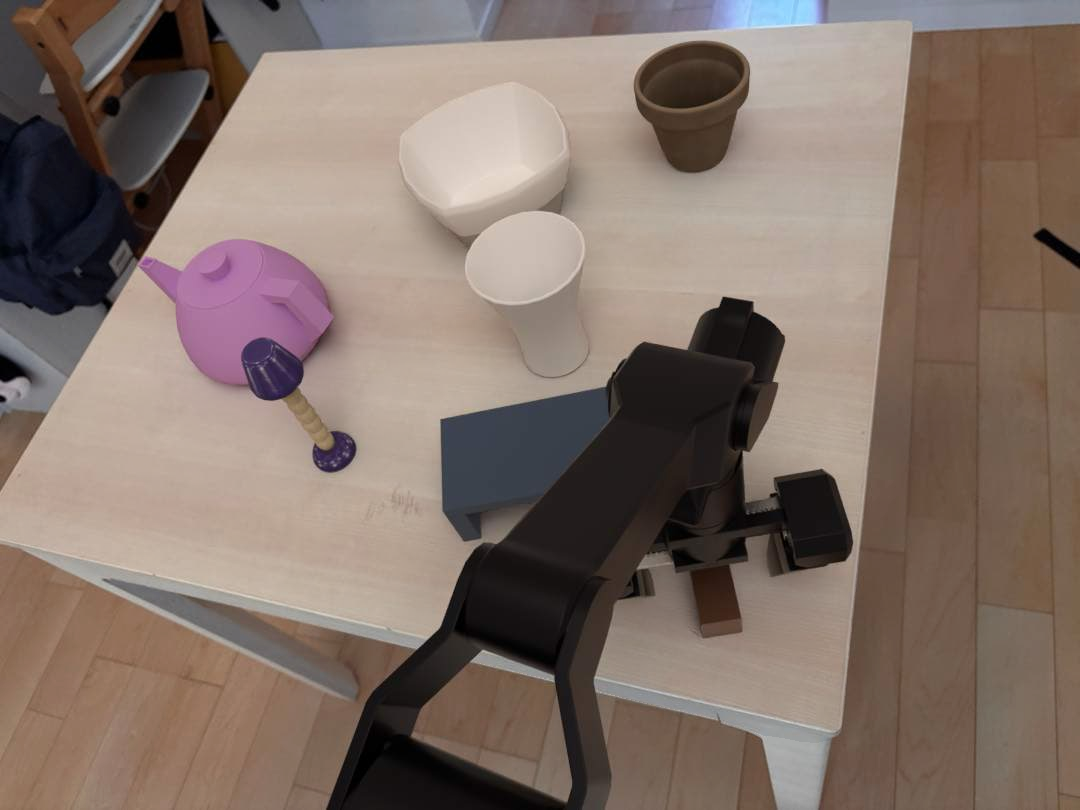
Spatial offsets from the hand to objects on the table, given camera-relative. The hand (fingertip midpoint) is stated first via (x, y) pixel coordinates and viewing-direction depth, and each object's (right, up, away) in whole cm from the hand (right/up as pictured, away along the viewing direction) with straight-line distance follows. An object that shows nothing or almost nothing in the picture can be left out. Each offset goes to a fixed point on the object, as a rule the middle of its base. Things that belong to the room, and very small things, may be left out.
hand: (711, 580), depth 67 cm
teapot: (-43, +21, +27) cm, 55 cm away
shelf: (-10, +7, +9) cm, 16 cm away
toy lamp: (-32, +9, +16) cm, 37 cm away
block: (0, -1, +1) cm, 1 cm away
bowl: (-17, +35, +30) cm, 49 cm away
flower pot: (+4, +41, +28) cm, 50 cm away
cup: (-12, +19, +17) cm, 28 cm away
